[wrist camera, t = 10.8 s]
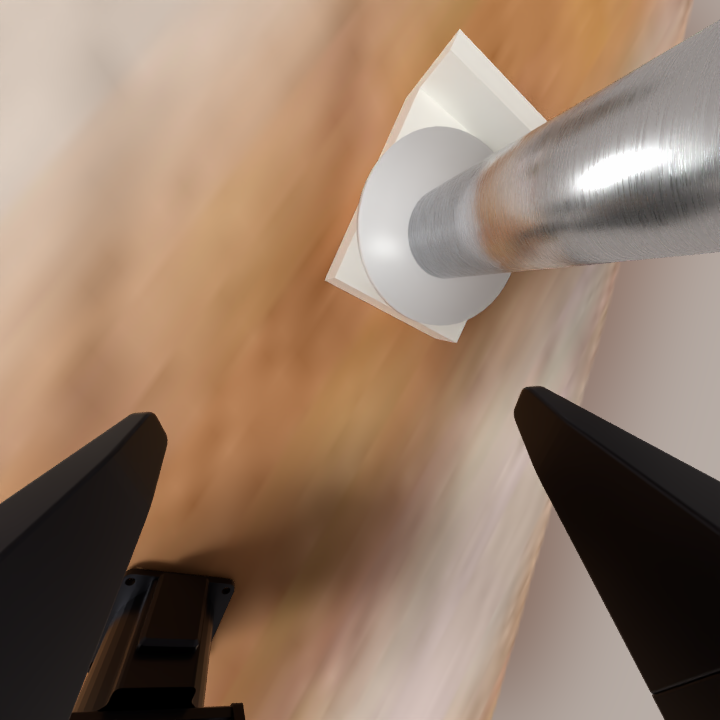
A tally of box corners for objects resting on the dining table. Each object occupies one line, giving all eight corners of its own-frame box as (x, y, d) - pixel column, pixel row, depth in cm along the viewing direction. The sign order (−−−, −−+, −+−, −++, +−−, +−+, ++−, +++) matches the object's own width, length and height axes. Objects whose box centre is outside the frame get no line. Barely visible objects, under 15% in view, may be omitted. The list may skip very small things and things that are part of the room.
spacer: (435, 295, 18) (742, 291, 7) (391, 219, 16) (703, 48, 5) (493, 247, 19) (858, 171, 7) (457, 169, 17) (858, -78, 6)
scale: (441, 344, 23) (492, 356, 18) (313, 278, 19) (334, 270, 14) (514, 186, 22) (587, 155, 18) (398, 84, 19) (451, 9, 14)
